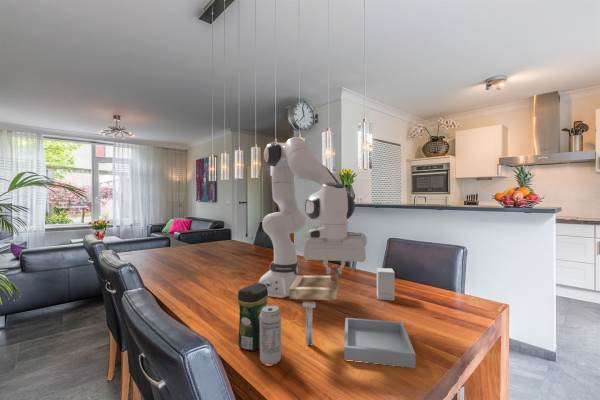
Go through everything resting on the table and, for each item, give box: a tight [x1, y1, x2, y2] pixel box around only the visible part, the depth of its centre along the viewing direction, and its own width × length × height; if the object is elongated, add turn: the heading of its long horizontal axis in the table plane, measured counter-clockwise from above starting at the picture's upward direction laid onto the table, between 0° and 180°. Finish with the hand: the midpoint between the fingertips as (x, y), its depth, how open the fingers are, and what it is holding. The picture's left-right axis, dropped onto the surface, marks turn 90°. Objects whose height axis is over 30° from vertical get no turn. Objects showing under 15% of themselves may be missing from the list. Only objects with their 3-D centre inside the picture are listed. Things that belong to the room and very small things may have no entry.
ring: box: [288, 264, 339, 301], centre depth 88 cm, size 14×14×7 cm
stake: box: [302, 301, 317, 345], centre depth 86 cm, size 4×2×13 cm, turn 80°
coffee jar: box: [237, 281, 269, 351], centre depth 87 cm, size 10×8×19 cm
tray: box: [343, 317, 416, 369], centre depth 85 cm, size 19×19×4 cm
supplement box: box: [376, 267, 396, 302], centre depth 126 cm, size 7×7×13 cm
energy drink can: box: [259, 304, 282, 364], centre depth 78 cm, size 6×6×15 cm
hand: (334, 273), depth 91 cm, fingers closed on ring, 2 cm apart
